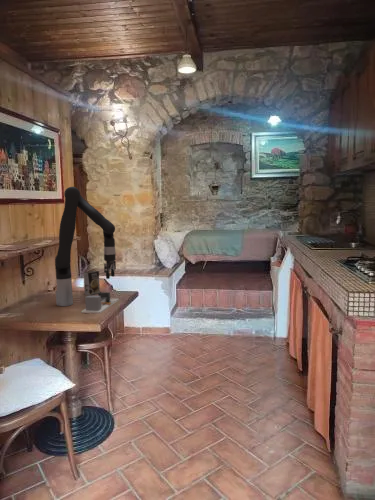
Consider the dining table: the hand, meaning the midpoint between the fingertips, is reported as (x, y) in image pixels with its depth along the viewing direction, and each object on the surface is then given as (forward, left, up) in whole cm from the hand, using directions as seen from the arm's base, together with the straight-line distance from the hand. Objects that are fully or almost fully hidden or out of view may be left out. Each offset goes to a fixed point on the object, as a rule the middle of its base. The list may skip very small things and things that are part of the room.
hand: (110, 277), depth 249 cm
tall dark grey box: (+1, -17, -14) cm, 22 cm away
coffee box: (-20, +15, -15) cm, 29 cm away
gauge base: (0, -17, -15) cm, 23 cm away
